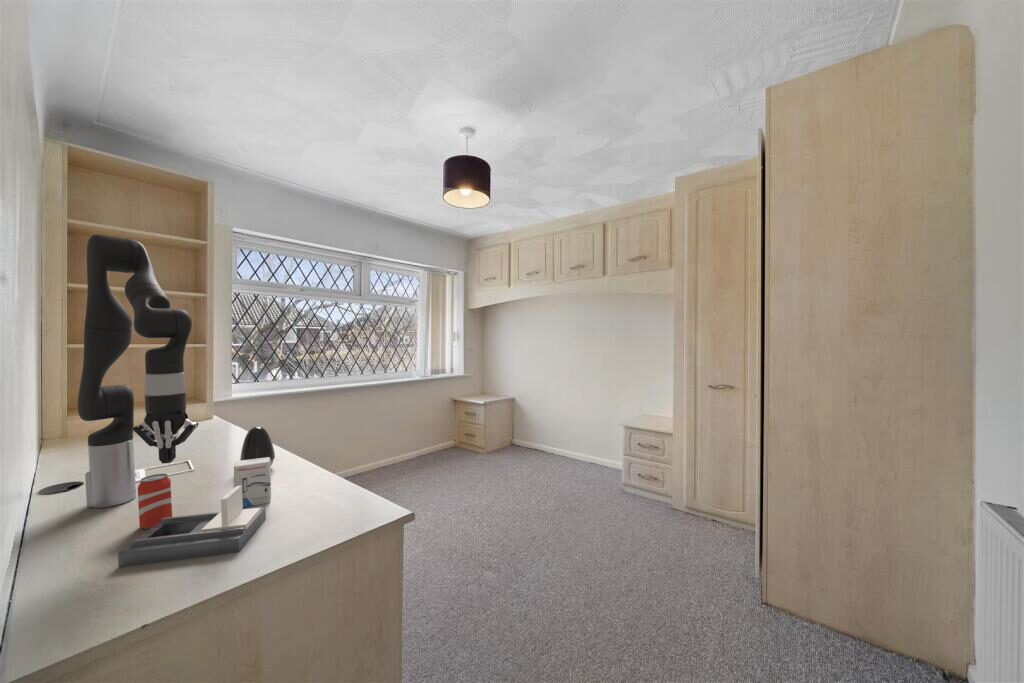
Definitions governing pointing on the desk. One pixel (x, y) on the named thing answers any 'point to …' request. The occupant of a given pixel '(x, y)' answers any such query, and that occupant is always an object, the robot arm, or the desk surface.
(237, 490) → the t-shaped bracket
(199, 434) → the desk surface
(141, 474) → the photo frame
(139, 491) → the beverage can
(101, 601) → the desk surface
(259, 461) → the ink box
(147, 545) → the socket plate
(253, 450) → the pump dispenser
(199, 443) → the desk surface
